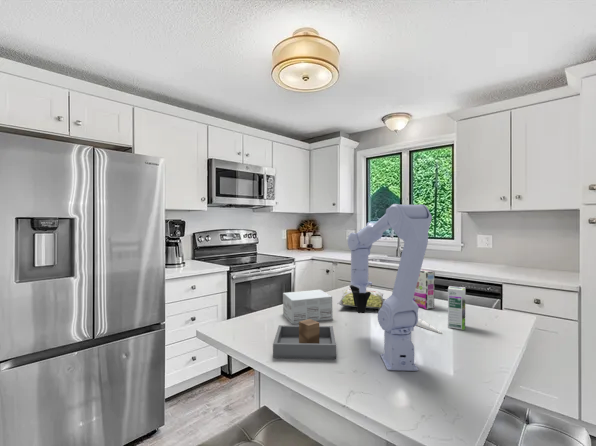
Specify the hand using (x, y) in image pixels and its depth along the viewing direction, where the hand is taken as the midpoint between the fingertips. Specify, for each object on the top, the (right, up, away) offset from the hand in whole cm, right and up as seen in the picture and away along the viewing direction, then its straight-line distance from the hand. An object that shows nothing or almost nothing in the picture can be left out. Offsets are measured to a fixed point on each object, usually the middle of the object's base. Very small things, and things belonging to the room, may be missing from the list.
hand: (359, 309), depth 110 cm
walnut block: (-17, -9, -8) cm, 21 cm away
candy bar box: (+35, -9, +38) cm, 52 cm away
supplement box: (-17, -9, +23) cm, 30 cm away
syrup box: (+37, -9, +11) cm, 40 cm away
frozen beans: (+9, -9, +41) cm, 43 cm away
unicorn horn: (+23, -10, +15) cm, 29 cm away
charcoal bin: (-18, -10, -8) cm, 22 cm away
